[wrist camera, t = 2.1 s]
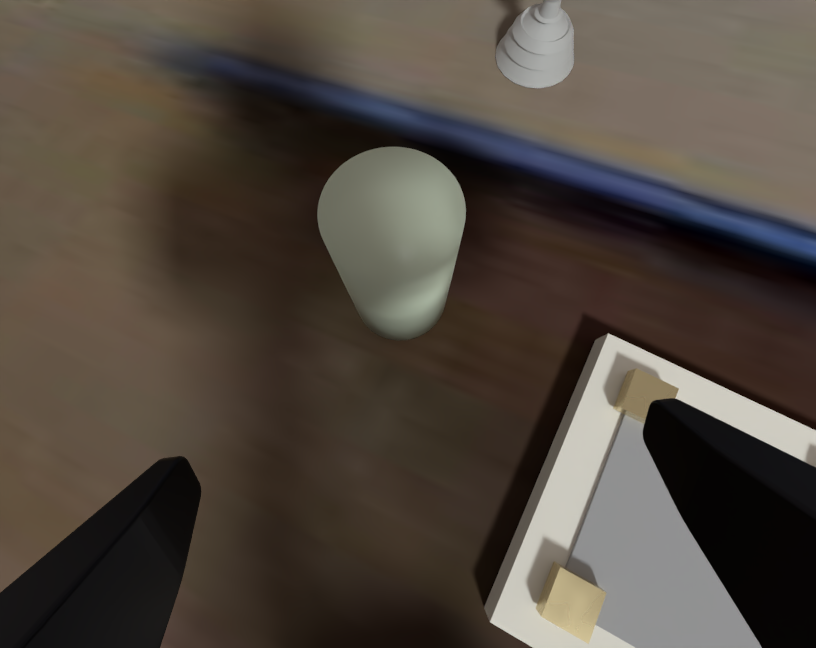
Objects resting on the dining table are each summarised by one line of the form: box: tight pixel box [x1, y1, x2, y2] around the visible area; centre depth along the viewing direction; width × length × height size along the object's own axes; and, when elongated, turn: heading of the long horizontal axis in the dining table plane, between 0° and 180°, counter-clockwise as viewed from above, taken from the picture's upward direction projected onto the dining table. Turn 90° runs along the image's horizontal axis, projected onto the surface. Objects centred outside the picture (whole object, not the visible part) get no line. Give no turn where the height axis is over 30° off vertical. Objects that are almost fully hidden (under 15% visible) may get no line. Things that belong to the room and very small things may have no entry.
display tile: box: [484, 333, 816, 648], centre depth 18 cm, size 14×14×2 cm
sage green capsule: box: [317, 147, 466, 340], centre depth 18 cm, size 5×5×9 cm
